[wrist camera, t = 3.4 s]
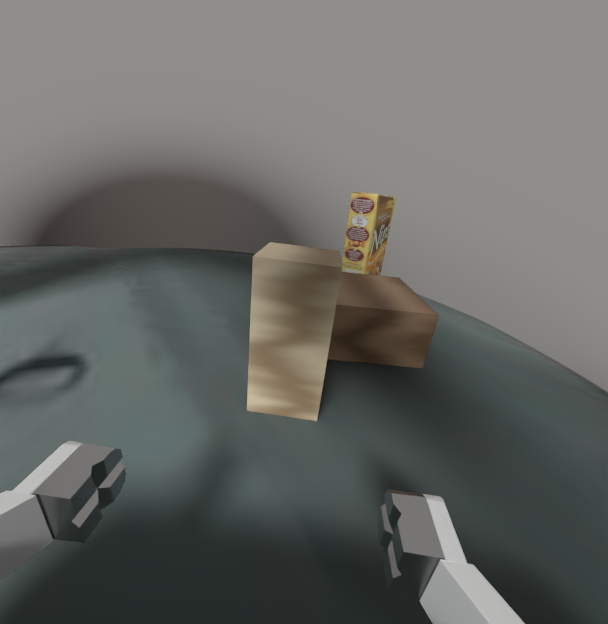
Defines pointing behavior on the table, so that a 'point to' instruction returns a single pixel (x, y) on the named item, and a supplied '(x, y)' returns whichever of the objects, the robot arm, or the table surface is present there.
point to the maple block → (291, 328)
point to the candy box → (367, 233)
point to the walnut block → (380, 322)
